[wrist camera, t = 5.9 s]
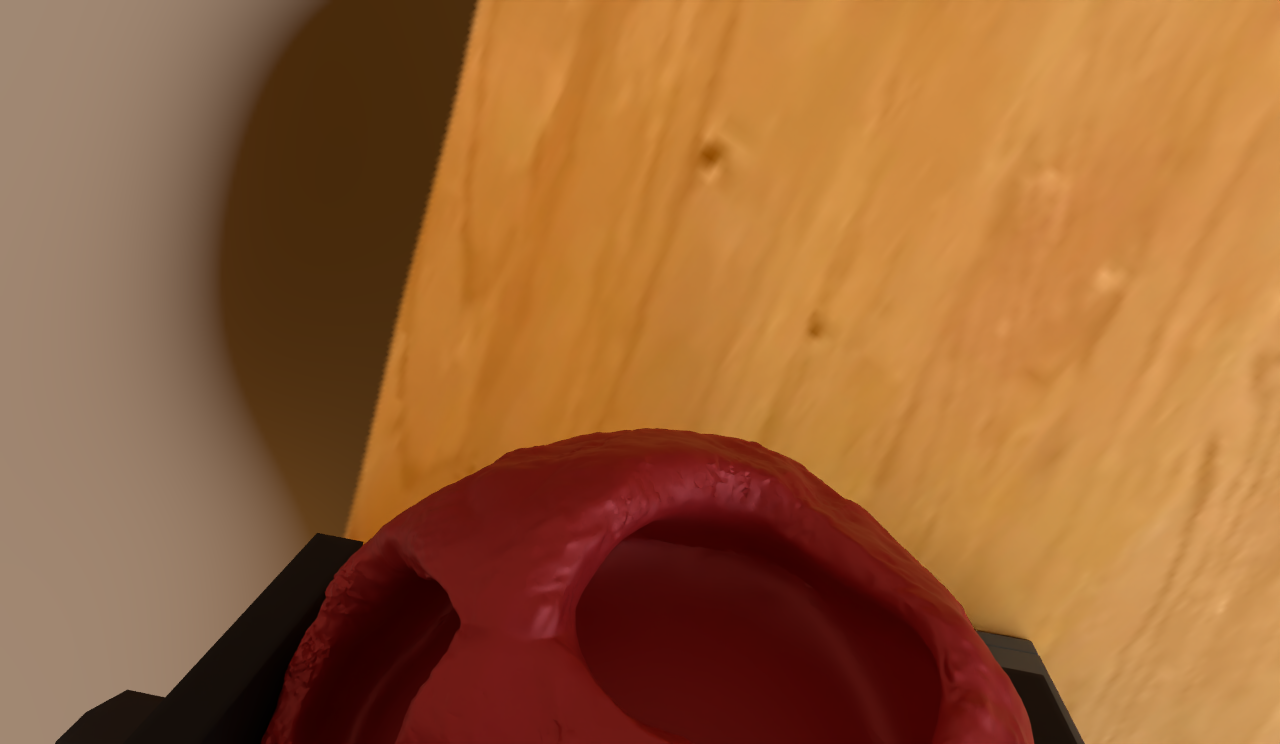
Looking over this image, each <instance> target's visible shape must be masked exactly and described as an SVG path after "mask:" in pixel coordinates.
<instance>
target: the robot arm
mask: <svg viewBox="0 0 1280 744" xmlns="http://www.w3.org/2000/svg"><path fill="white" fill-rule="evenodd" d="M362 546H363V542H361V541H356V540H351V539H346V538H341V537H335V536H330V535H325V534H320V533H317V534H316V535H315V536H314V537H313V538H312V539H311V540H310V541H309V542H308V544H307V545H306V546H305V547H304V548H303V549H302V550H301V551H300V552H299V553H298V554H297V555H296V557H295V558H294V559H293V560H292V561H291V562H290V563H289V564H288V565H287V566H286V567H285V568H284V570H283V571H282V572H281V573H280V574H279V575H278V576H277V577H276V578H275V579H274V580H273V582H272V583H271V584H270V585H269V586H268V587H267V588H266V589H265V590H264V591H263V592H262V593H261V594H260V596H259V597H258V598H257V599H256V600H255V601H254V602H253V603H252V604H251V605H250V606H249V607H248V609H247V610H246V611H245V612H244V613H243V614H242V615H241V616H240V617H239V618H238V620H237V621H236V622H235V623H234V624H233V625H232V626H231V627H230V628H229V629H228V630H227V631H226V632H225V633H224V635H223V636H222V637H221V638H220V639H219V640H218V641H217V642H216V643H215V644H214V646H213V647H211V649H210V650H209V651H208V652H207V653H206V654H205V655H204V656H203V657H202V658H201V659H200V660H199V662H198V663H197V664H196V665H195V666H194V667H193V668H192V669H191V670H190V671H189V672H188V673H187V675H186V676H185V677H184V678H183V679H182V680H181V681H180V682H179V683H178V685H176V687H175V688H174V689H173V690H172V691H171V692H170V693H169V694H168V695H167V696H166V697H160V696H155V695H150V694H145V693H141V692H136V691H131V690H126V691H124V692H123V693H121V694H119V695H117V696H115V697H113V698H111V699H109V700H108V701H106V702H104V703H102V704H100V705H99V706H97V707H95V708H93V709H91V710H89V711H87V712H86V713H85V714H84V715H83V716H82V717H81V718H80V719H79V720H78V721H77V722H76V723H75V724H74V725H73V726H72V727H70V728H69V730H67V732H66V733H64V734H63V735H62V736H61V737H60V738H59V739H58V740H57V741H56V743H55V744H261V740H262V737H263V736H264V734H265V732H266V730H267V728H268V725H269V723H270V720H271V718H272V716H273V714H274V712H275V709H276V707H277V701H278V697H279V694H280V692H281V690H282V686H283V683H284V677H285V672H286V670H287V668H288V665H289V663H290V661H291V659H292V658H293V656H294V653H295V652H296V650H297V648H298V646H299V644H300V642H301V639H302V638H303V637H304V635H305V633H306V631H307V629H308V628H309V627H310V626H311V624H312V623H313V622H314V621H315V620H316V618H317V616H318V613H319V611H320V608H321V605H322V603H323V601H324V600H325V598H326V595H325V592H326V588H327V587H328V585H329V583H330V582H331V581H332V580H333V579H334V575H335V574H336V573H337V572H338V571H339V569H340V568H341V567H342V566H343V565H344V564H345V563H346V562H347V561H348V559H349V558H350V557H351V556H352V555H353V554H354V553H355V552H357V551H358V550H359V549H360V548H361V547H362ZM1001 668H1002V669H1003V670H1004V672H1005V673H1006V674H1007V675H1008V676H1009V678H1010V680H1011V682H1012V684H1013V686H1014V687H1015V689H1016V691H1017V693H1018V695H1019V696H1020V698H1021V700H1022V702H1023V705H1024V707H1025V709H1026V711H1027V714H1028V716H1029V720H1030V724H1031V729H1032V735H1033V740H1034V744H1077V742H1076V740H1075V738H1074V736H1073V734H1072V732H1071V730H1070V728H1069V726H1068V724H1067V722H1066V720H1065V718H1064V716H1063V714H1062V712H1061V710H1060V708H1059V706H1058V704H1057V702H1056V700H1055V697H1054V695H1053V693H1052V691H1051V689H1050V687H1049V685H1048V683H1047V681H1046V679H1045V677H1044V675H1041V674H1036V673H1031V672H1026V671H1021V670H1016V669H1011V668H1006V667H1001Z"/></svg>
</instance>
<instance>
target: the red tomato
mask: <svg viewBox="0 0 1280 744" xmlns="http://www.w3.org/2000/svg"><path fill="white" fill-rule="evenodd" d="M325 595H326V598H325V600H324V601H323V603H322V605H321V608H320V611H319V613H318V616H317V618H316V620H315V621H314V622H313V623H312V624H311V626H310V627H309V628H308V629H307V631H306V633H305V635H304V637H303V638H302V639H301V642H300V644H299V646H298V648H297V650H296V652H295V653H294V656H293V658H292V659H291V661H290V663H289V665H288V668H287V670H286V672H285V677H284V683H283V686H282V690H281V692H280V694H279V697H278V701H277V707H276V709H275V712H274V714H273V716H272V718H271V720H270V723H269V725H268V728H267V730H266V732H265V734H264V736H263V737H262V740H261V744H1034V740H1033V735H1032V729H1031V724H1030V720H1029V716H1028V714H1027V711H1026V709H1025V707H1024V705H1023V702H1022V700H1021V698H1020V696H1019V695H1018V693H1017V691H1016V689H1015V687H1014V686H1013V684H1012V682H1011V680H1010V678H1009V676H1008V675H1007V674H1006V673H1005V672H1004V670H1003V669H1002V668H1001V666H1000V665H999V664H998V662H997V661H996V660H995V659H994V656H993V655H992V653H991V651H990V650H989V648H988V647H987V645H986V644H985V643H984V641H983V640H982V639H981V637H980V636H979V635H978V634H977V632H976V631H975V630H974V629H973V626H972V624H971V622H970V620H969V619H968V617H967V615H966V614H965V611H964V609H963V607H962V605H961V604H960V603H959V602H958V601H957V600H956V599H955V598H954V596H953V595H952V594H951V593H950V592H949V591H948V590H947V589H946V588H945V586H944V585H942V584H941V583H940V582H939V581H938V580H937V579H936V578H935V577H934V576H933V575H932V574H931V573H930V572H929V571H928V570H927V569H926V568H924V567H923V566H922V565H921V564H920V563H919V562H918V561H917V560H916V559H915V558H914V557H913V556H912V555H911V554H910V553H909V552H908V551H907V550H906V549H904V548H903V547H902V546H901V545H900V544H899V543H898V542H897V541H896V540H895V539H894V538H893V537H892V536H891V535H890V534H889V533H888V531H887V530H886V529H884V528H883V527H882V526H881V525H880V524H879V523H878V522H877V521H876V520H875V519H874V518H873V517H872V516H871V515H870V514H869V513H868V512H867V511H866V510H865V509H863V508H862V507H861V506H860V505H858V504H856V503H854V502H852V501H851V500H847V499H844V498H843V497H842V496H840V495H839V494H838V493H837V492H835V491H834V490H833V489H832V488H830V487H829V486H828V485H826V484H825V483H824V482H823V481H822V480H820V479H819V478H817V477H816V476H815V475H813V474H812V473H810V472H809V471H808V470H807V469H806V468H805V466H803V465H802V464H800V463H798V462H796V461H794V460H792V459H790V458H788V457H786V456H783V455H781V454H779V453H777V452H774V451H771V450H768V449H767V448H765V447H763V446H762V445H760V444H759V443H757V442H748V441H745V440H742V439H738V438H733V437H725V436H719V435H713V434H699V433H696V432H692V431H679V430H668V429H658V428H656V429H650V428H644V429H636V430H633V431H631V430H622V431H617V432H611V433H601V432H596V433H592V434H588V435H580V436H577V437H573V438H570V439H566V440H562V441H558V442H555V443H552V444H549V445H542V446H534V447H531V448H520V449H517V450H514V451H512V452H508V453H506V454H504V455H503V456H502V457H501V458H499V459H498V460H496V461H495V462H494V463H493V464H491V465H489V466H487V467H484V468H482V469H481V470H479V471H478V472H476V473H474V474H472V475H469V476H467V477H465V478H463V479H461V480H460V481H458V482H456V483H453V484H450V485H448V486H446V487H444V488H442V489H440V490H439V491H437V492H435V493H433V494H431V495H429V496H428V497H426V498H425V499H423V500H421V501H420V502H418V503H417V504H416V505H414V506H412V507H410V508H408V509H407V510H405V511H404V512H402V513H401V514H399V515H398V516H396V517H395V518H394V519H393V520H391V521H390V522H388V523H387V524H385V525H384V526H383V527H382V528H381V529H380V530H379V531H378V532H377V533H376V534H375V536H374V537H373V538H371V539H370V540H369V541H368V542H367V543H365V544H364V545H363V546H362V547H361V548H360V549H359V550H358V551H357V552H355V553H354V554H353V555H352V556H351V557H350V558H349V559H348V561H347V562H346V563H345V564H344V565H343V566H342V567H341V568H340V569H339V571H338V572H337V573H336V574H335V575H334V579H333V580H332V581H331V582H330V583H329V585H328V587H327V588H326V592H325Z"/></svg>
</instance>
